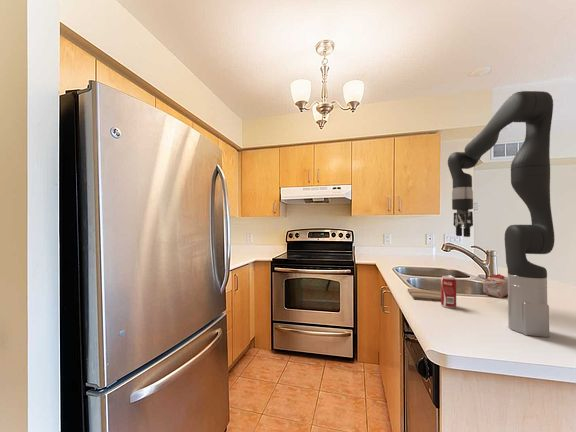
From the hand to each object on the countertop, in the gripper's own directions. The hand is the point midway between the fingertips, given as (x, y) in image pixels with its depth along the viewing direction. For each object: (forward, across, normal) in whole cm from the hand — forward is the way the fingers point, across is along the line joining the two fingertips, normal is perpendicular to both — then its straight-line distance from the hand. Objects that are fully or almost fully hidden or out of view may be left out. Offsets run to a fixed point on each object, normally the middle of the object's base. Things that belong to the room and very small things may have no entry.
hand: (462, 236), depth 112 cm
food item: (+28, +17, -20) cm, 39 cm away
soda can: (+28, -8, +8) cm, 30 cm away
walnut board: (+28, +6, +12) cm, 31 cm away
